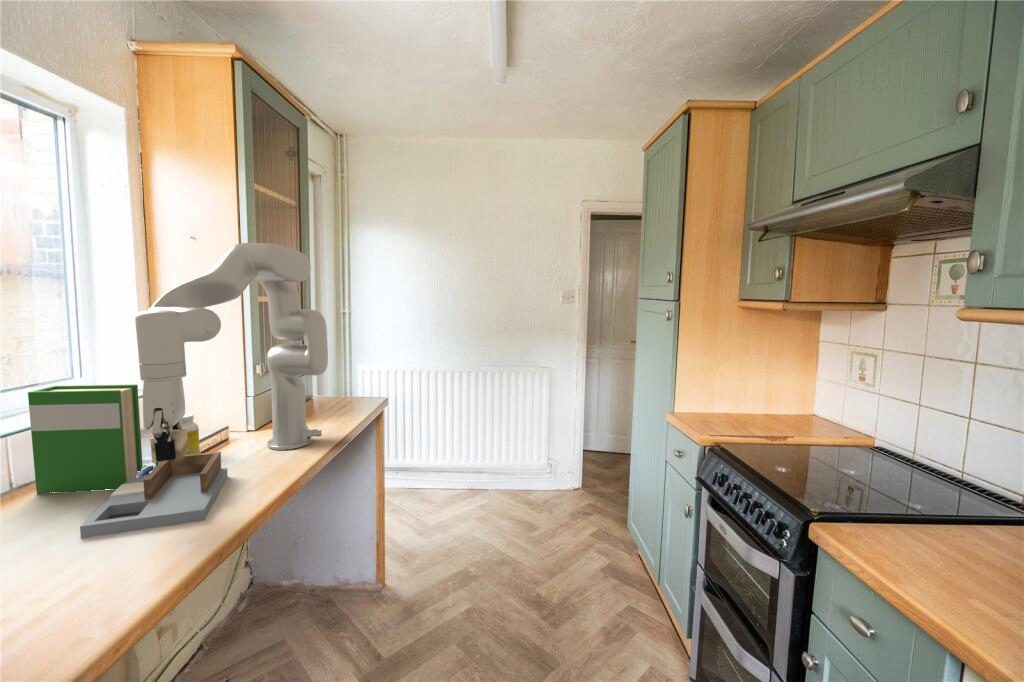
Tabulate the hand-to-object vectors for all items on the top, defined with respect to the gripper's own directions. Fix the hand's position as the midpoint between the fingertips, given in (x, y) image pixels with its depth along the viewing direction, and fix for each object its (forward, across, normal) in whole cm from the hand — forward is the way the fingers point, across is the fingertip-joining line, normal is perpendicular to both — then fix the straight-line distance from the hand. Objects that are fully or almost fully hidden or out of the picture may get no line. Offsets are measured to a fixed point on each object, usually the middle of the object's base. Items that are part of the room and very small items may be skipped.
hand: (170, 454), depth 95 cm
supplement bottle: (+14, -35, -6) cm, 39 cm away
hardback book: (+14, -23, -22) cm, 35 cm away
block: (+1, 0, 0) cm, 1 cm away
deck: (+13, -6, -4) cm, 15 cm away
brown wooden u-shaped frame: (+11, -11, 0) cm, 15 cm away
